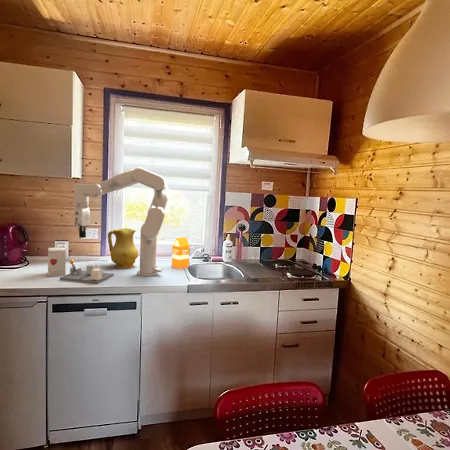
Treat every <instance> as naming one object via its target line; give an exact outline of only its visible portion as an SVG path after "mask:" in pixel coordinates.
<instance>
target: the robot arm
mask: <svg viewBox="0 0 450 450" xmlns="http://www.w3.org/2000/svg"><path fill="white" fill-rule="evenodd" d="M137 184H140V185H143V186H146V187H148V188H151V189H153V191H154V195H153V197H152V201H151V204H150V205H149V208H148V210H147V215H146V217H145V220H144V222H143V224H142V225H141V227H140V249H139V270H137V271H136V274H137V275H138V276H142V277H153V276H157V275H158V274H159V273H162V271H163V269H162V268H158V265H157V264H156V263H157V242H158V241H157V237H158V235H159V233H160V230H161V228H162V225H163V222H164V219H165V209H166V206H167V203H168V200H169V196H170V191H169V188H168V187H169V186H168V185H167V183H166V180H165V178H164V177H163V176H162V175H159V174H157V173H154V172H152V171H150V170H147V169H146V168H143V167H135V168H133V169H130V170H128V171H124V172H122V173H118V174H116V175H114V176H112V177H110V178H108V179H105V180H103V181H100V182H97V183H90V184H87V183H75V184H74V185H73V194H74V195H73V196H74V213H73V225H74V226H75V229H77V230H78V235H79V236H78V237H79V238H80V239H84V238H86V237H87V234H86V233H87V228H88V227H89V226H90V225H91V223H92V218H91V210H90V206H89V205H90V202H89V201H90V199H89V197H91V198H98V197H101V196H105V195H107V194H109V193H112V192H115V191H120V190H123V189H125V188H129V187H131V186H134V185H137Z"/></svg>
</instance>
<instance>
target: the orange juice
mask: <svg viewBox="0 0 450 450" xmlns="http://www.w3.org/2000/svg"><path fill="white" fill-rule="evenodd" d="M171 247H172V249H171V250H172V251H171V267H173V268H175V269H182V268H189V265H190V244H189V241H188V238H187V236H184V237H176V239H175V240H174V242H173V243H172V246H171Z"/></svg>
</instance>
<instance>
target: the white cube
mask: <svg viewBox="0 0 450 450" xmlns="http://www.w3.org/2000/svg"><path fill="white" fill-rule="evenodd" d="M85 269H86V270H85V271H86V274H90V275H91V270H93V269H98V264H96V263H95V264H93V263H92V264H91V263H90V264H86V268H85Z"/></svg>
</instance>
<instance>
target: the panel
mask: <svg viewBox="0 0 450 450" xmlns="http://www.w3.org/2000/svg"><path fill="white" fill-rule="evenodd" d="M76 270H77V273H75V272H73V267H72V266H71V267H70V269H69V273H68V274H66V275H65V276H60V277H59V280H60V281H67V282H75V283H76V282H77V283H84V284H92V285H93V284H95V285H98V284H100V283H103V282H104V281H107V280H108V279H109V280H110V278H113V277H114V275H115V274H114V273H112V272H106V271H105V272H103V271H102V278H101V279H99V280H93V279H91V275H90V274H86V270H85V269H84V270H82V268H81V267H78V268H76Z"/></svg>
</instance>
